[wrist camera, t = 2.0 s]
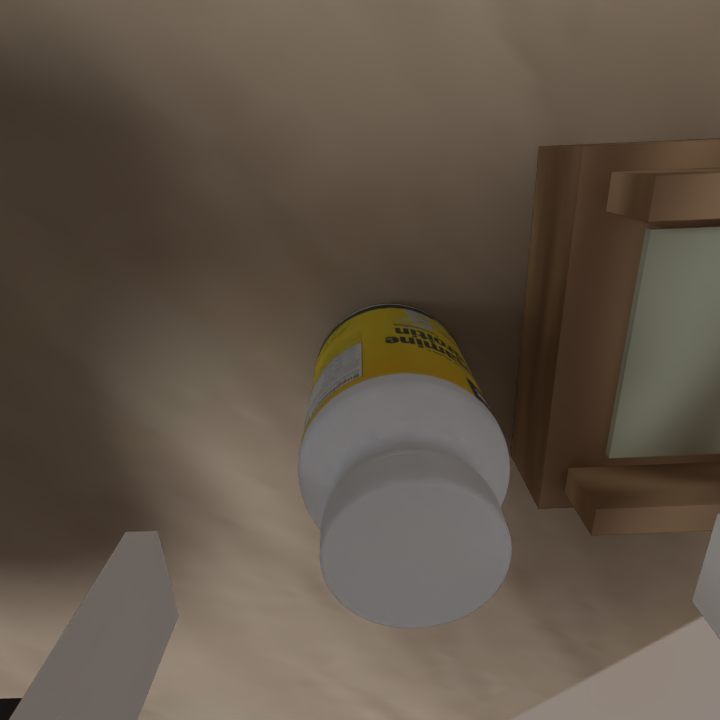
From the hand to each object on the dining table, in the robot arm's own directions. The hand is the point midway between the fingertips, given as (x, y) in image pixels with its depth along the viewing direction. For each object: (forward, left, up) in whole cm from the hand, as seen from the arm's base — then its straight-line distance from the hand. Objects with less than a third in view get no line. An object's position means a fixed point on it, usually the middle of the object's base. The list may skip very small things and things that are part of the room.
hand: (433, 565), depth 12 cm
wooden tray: (+13, +2, -12) cm, 17 cm away
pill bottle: (0, 0, -12) cm, 12 cm away
